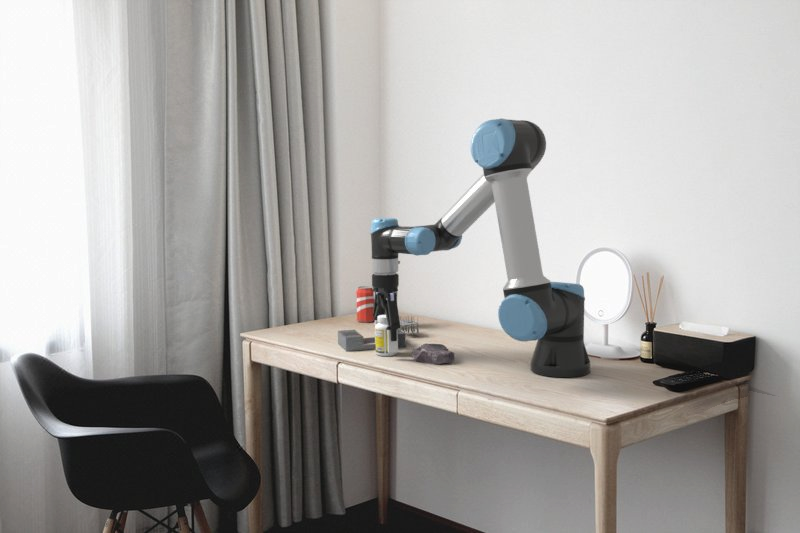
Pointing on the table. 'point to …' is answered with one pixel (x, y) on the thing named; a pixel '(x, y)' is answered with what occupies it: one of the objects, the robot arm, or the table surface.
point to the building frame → (408, 324)
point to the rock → (433, 354)
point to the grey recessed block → (362, 340)
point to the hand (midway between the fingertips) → (386, 347)
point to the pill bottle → (382, 337)
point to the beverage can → (365, 304)
